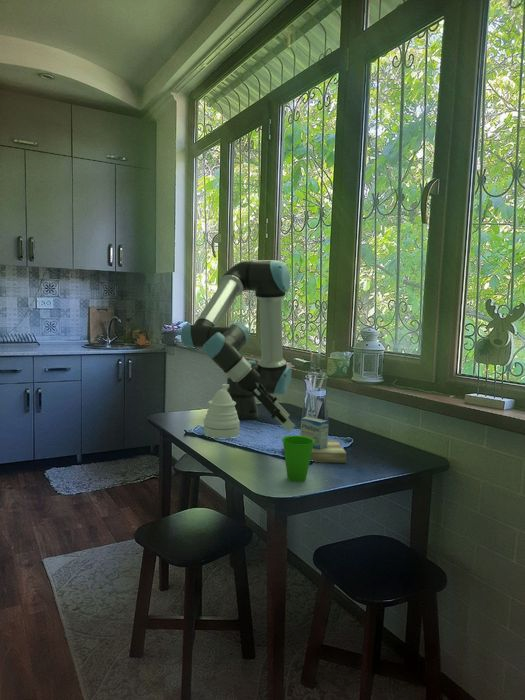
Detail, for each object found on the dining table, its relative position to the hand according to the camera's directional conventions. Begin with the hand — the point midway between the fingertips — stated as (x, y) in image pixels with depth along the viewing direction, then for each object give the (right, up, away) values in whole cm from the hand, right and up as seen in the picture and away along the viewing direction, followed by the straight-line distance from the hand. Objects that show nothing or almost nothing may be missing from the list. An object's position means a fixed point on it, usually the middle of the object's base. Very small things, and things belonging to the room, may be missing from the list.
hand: (289, 423), depth 155 cm
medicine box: (+8, -8, +1) cm, 11 cm away
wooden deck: (+8, -10, +1) cm, 13 cm away
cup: (+1, -13, -20) cm, 23 cm away
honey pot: (-23, -8, +22) cm, 33 cm away
